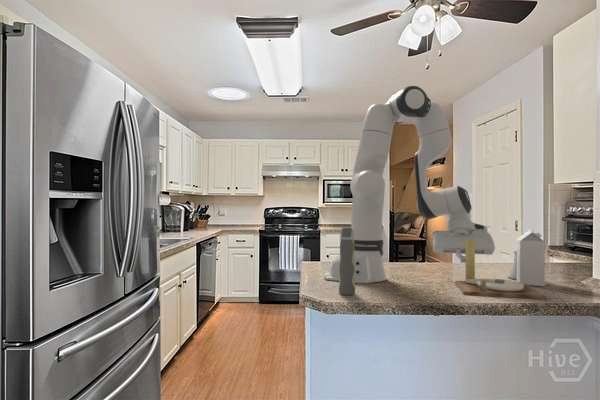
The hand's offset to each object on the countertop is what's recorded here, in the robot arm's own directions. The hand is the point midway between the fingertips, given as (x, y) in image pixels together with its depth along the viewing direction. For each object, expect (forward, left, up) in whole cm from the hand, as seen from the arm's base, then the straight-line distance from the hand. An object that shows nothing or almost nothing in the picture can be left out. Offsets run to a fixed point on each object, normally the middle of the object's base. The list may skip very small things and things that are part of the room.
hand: (465, 261), depth 128 cm
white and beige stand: (+7, -8, -6) cm, 12 cm away
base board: (+8, -10, -7) cm, 14 cm away
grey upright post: (-38, -26, -8) cm, 46 cm away
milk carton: (+21, +5, -8) cm, 23 cm away
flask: (+20, +14, -8) cm, 26 cm away
